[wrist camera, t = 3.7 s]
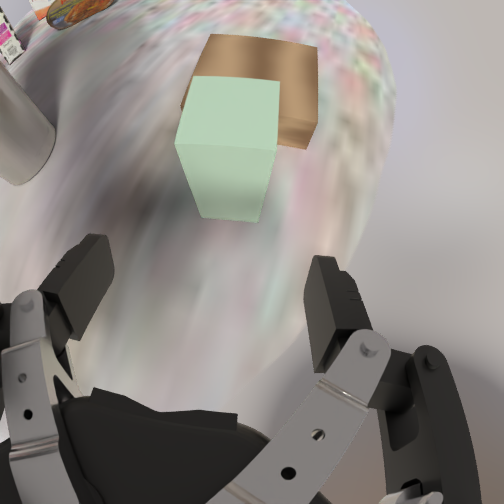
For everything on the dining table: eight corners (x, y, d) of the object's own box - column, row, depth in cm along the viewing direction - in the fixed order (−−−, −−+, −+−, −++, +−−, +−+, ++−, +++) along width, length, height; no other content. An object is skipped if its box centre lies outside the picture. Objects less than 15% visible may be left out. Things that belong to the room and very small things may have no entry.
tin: (54, 35, 30) (40, 9, 22) (55, 30, 31) (42, 4, 22) (121, 3, 32) (112, -27, 24) (119, -2, 33) (111, -30, 24)
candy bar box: (27, 49, 30) (-2, 2, 14) (9, 65, 29) (-22, 20, 13) (20, 40, 31) (-4, 0, 15) (4, 54, 30) (-22, 15, 14)
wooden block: (188, 135, 26) (180, 105, 21) (212, 63, 29) (210, 33, 24) (305, 151, 27) (317, 122, 22) (308, 75, 29) (317, 47, 24)
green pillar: (201, 217, 24) (174, 143, 13) (208, 167, 25) (193, 75, 14) (258, 222, 24) (276, 150, 13) (262, 172, 25) (279, 81, 14)
